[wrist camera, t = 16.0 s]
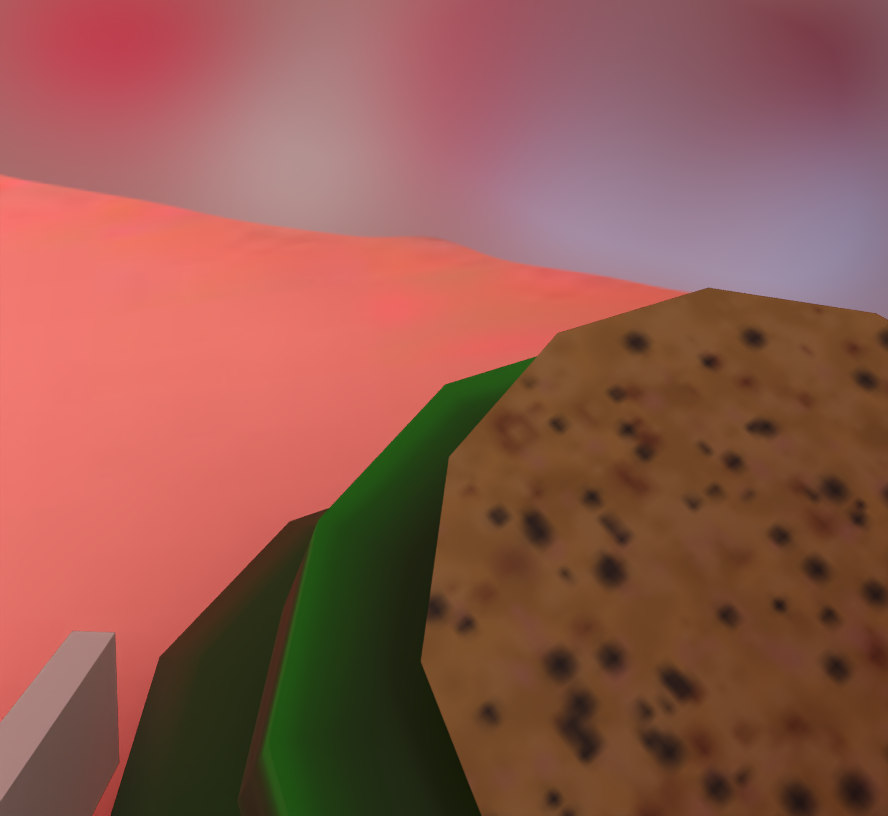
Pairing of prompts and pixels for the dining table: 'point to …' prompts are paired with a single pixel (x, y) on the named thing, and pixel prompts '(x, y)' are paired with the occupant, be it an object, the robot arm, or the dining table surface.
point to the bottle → (570, 595)
